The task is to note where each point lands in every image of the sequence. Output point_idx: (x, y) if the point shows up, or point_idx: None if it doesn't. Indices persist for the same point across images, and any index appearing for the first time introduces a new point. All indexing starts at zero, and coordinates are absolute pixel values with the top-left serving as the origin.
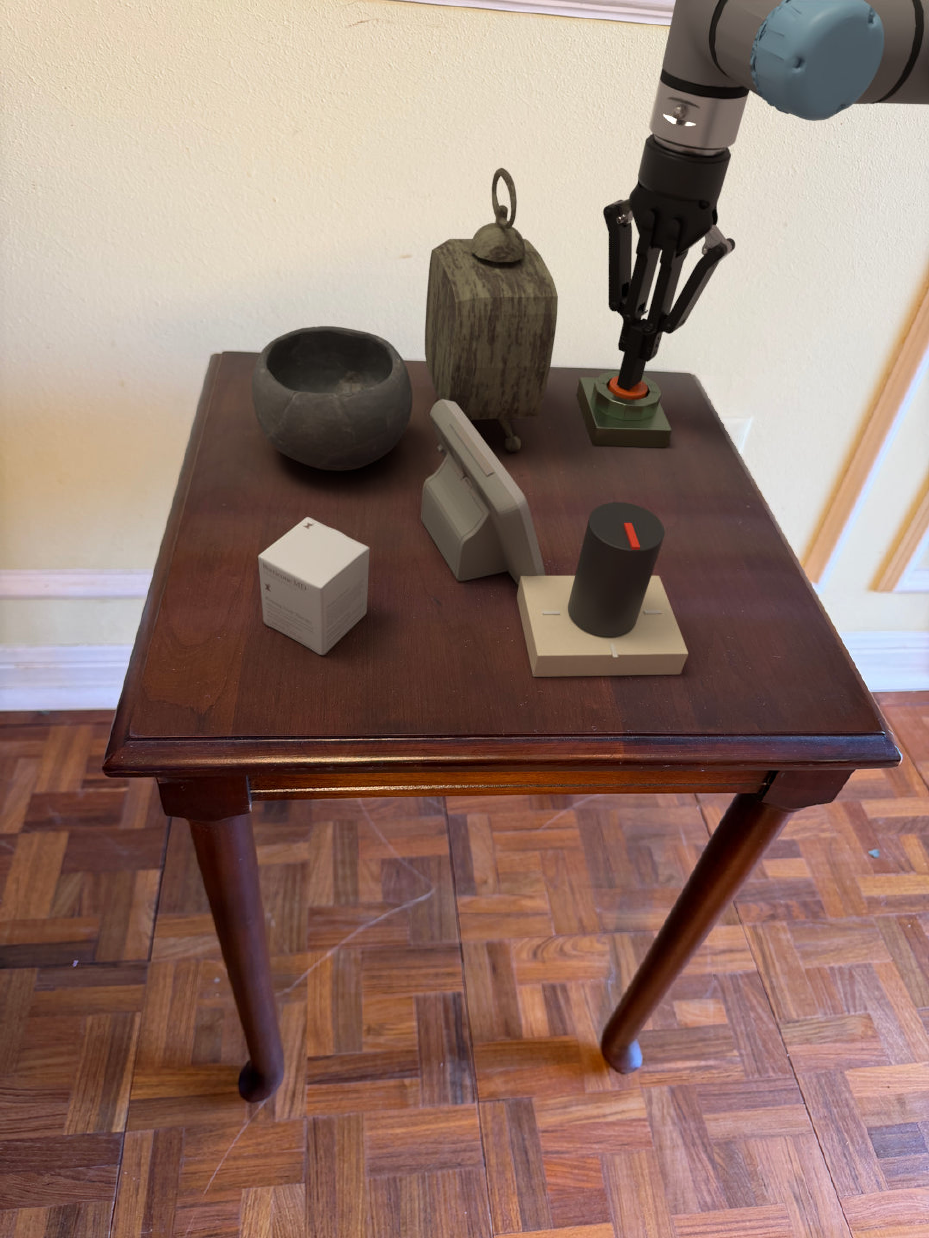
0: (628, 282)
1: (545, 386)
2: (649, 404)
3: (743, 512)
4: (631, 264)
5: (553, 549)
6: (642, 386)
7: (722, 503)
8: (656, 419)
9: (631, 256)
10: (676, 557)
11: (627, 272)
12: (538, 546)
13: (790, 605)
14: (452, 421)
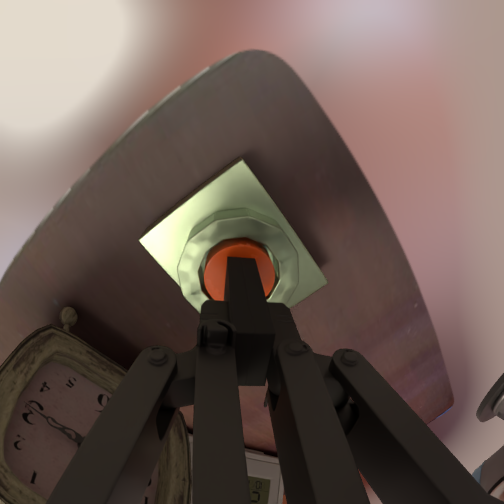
0: (155, 415)
1: (190, 458)
2: (290, 295)
3: (412, 316)
4: (132, 452)
5: (273, 436)
6: (262, 266)
7: (394, 318)
8: (300, 273)
9: (118, 474)
10: None
11: (144, 448)
12: (283, 489)
13: (434, 375)
14: None
